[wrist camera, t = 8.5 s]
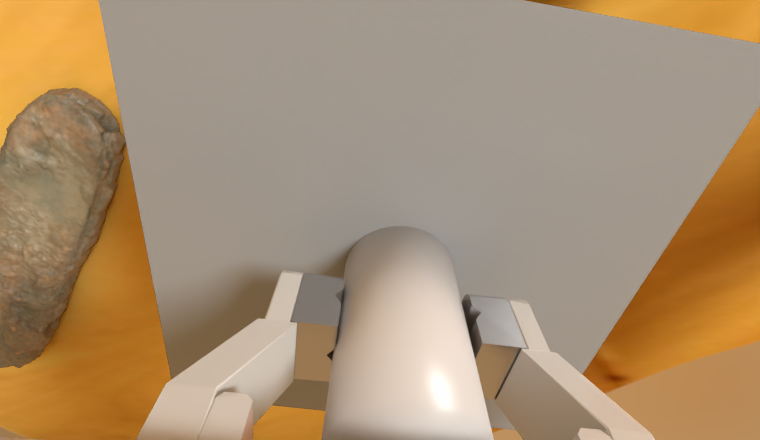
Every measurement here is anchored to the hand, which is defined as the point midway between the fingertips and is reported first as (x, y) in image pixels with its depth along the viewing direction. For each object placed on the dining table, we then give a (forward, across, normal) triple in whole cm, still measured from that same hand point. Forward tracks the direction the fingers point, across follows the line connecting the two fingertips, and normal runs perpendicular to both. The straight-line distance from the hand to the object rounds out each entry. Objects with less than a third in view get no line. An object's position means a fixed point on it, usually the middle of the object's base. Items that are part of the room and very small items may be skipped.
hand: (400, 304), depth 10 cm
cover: (+14, 0, 0) cm, 14 cm away
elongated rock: (+23, +30, +19) cm, 42 cm away
